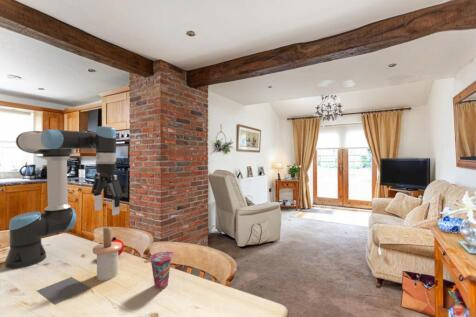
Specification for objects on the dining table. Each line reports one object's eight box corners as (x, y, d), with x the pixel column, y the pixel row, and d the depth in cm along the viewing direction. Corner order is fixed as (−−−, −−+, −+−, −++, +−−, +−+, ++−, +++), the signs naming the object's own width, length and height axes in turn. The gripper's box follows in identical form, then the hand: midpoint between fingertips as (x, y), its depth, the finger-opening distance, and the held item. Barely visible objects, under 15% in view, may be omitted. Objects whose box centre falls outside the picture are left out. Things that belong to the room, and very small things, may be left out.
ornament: (123, 258, 121) (123, 239, 121) (103, 261, 118) (103, 241, 117) (124, 251, 129) (124, 233, 129) (105, 254, 126) (105, 235, 126)
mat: (36, 292, 92) (36, 290, 92) (71, 278, 102) (71, 276, 102) (55, 306, 84) (54, 304, 84) (91, 289, 94) (91, 288, 94)
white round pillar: (109, 282, 99) (109, 253, 98) (92, 280, 100) (92, 252, 100) (122, 273, 107) (122, 246, 106) (106, 271, 108) (106, 245, 108)
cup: (164, 293, 91) (163, 262, 91) (145, 289, 94) (145, 258, 94) (177, 280, 100) (177, 252, 100) (160, 277, 103) (160, 249, 103)
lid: (87, 250, 102) (87, 229, 101) (112, 242, 111) (112, 222, 111) (101, 256, 96) (101, 234, 95) (126, 247, 105) (126, 226, 105)
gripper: (82, 162, 106) (82, 210, 106) (114, 164, 93) (114, 218, 93) (99, 161, 112) (99, 206, 113) (132, 163, 99) (132, 214, 100)
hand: (106, 212), depth 103 cm, fingers open, 13 cm apart
